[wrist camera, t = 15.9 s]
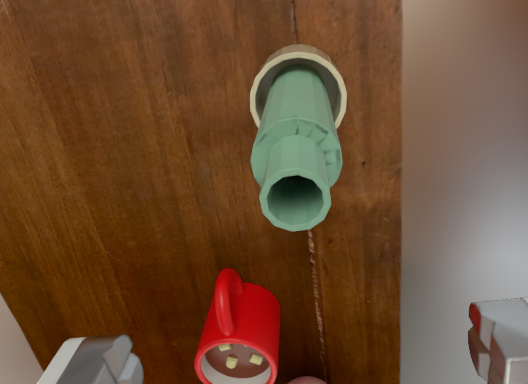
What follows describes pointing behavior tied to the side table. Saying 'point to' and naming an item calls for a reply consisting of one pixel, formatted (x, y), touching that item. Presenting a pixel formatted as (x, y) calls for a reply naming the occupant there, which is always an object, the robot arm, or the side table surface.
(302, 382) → the decorative fruit
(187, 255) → the side table surface
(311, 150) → the bottle
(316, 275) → the side table surface
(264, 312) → the mug
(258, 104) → the holder
